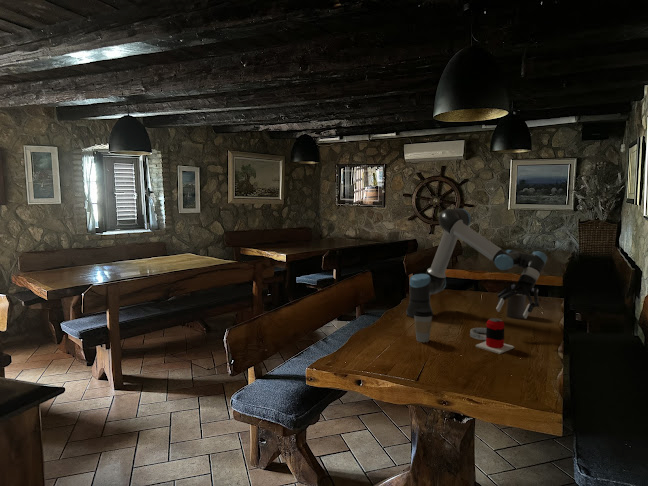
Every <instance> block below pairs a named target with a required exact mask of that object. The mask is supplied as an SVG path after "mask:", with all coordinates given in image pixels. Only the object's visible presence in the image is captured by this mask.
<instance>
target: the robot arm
mask: <svg viewBox="0 0 648 486" xmlns="http://www.w3.org/2000/svg"><path fill="white" fill-rule="evenodd" d="M471 221H472V218H471V214H470V213H469V212H468V210H467V209H464V208H459V207H457V208H456V207H455V208H447V209H444V210H442V211H441V212H440V213H439V215H438V224H439V226H440V227H441V228H442V230H443V233H442V235H441V239H440V242H439V244H438V247H437V250H436V252H435V255H434V258H433V260H432V263H431V266H430V267H429V268H427V270H426V272H425V273H418V274H417V273H415V274H414V275H411V276H410V277H409V300H408V301H409V302H408V305H407V308H406V311H405V312H406V314H407V315H408V316H407V315H406V316H407V317H410V318H414V315H413V312H414V310H415V309H417V308H427V309H430V310H431V311H432V313H433V314H434V311H433V309H432V305H431V295H435V294H438V293H440V292H442V291H443V290H445V288H446V286H447V280H446V278H447V274H446V271H447V267H448V265H449V262H450V260H451V258H452V255H453V251H454V249H455V247H456V244H457V241H458V239H460V240H462V241H463V242H464V243H466V244H467V245H469V246H470V247H471V248H473V249H474V250H475V251H477V252H479V253H480V254H482V255H483V256H485V257H486V258H487V259H489V261H492V262H493V263H494V265H495V268H497V269H499V270H501V271H507V270H510V269H512V268H516V267H518V268H522V269H523V271H522V272H521V275H520V276H519V278H518V280H517V283H516V284H515V283H513V282H510V283H509V285H508V286H506V287H505V288H503V290H501V291H500V292H498V294H496V296H497V297H498V301H497V306H496V308H495V309H496V311H497V312H498V313H500V312H501V309H502V308H503V305H505V304H504V303H505V302H506V301H505V300H507V298H509V297H511V296H513V295H516V294H520V295H521V294H522V295H526V298H527V300H528V301H529V303H528V304H527V305H526V307H525V312H524V314H523V316H524V318H523V319H527V318H528V315H530V313H532V311H533V310H534V309H535V307H537V308H539V307H540V303H539V292H540V291H539V288H538V287H535V285H536V283H537V281H538V279H539V277H540V275H541V273H542V272H543V269H544V267H545V266H546V263H547V261H548V256H547V254H545V253H544V252H542V251H539V250H534V251H533V252H532V253H531V254H529V253H525V252H521V251H516V250H512V249H507V250H503V249H502V248H501V247H499V246H498V245H496V244H495V243H493V242H492V241H490V240H489V239H487V238H486V237H484V236H482V234H480V233H478V232H477V231H475V230H474V229H472V228H471V227H469V226H470V224H471ZM515 291H516V292H515ZM530 293H533V298H534V301H533V299H532V297H531V294H530ZM414 319H415V318H414Z"/></svg>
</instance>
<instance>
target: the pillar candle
mask: <svg viewBox="0 0 648 486" xmlns="http://www.w3.org/2000/svg"><path fill="white" fill-rule="evenodd" d="M515 292H516V290H515ZM526 298H527V295H522V294H521V295H520V294H516V295H513V296H511V297H509V298H507V299H506V300H507V301H506V317H508V318H511V319H516V320H517V319H519V320H520V319H525V318H524V316H523V314H524V312H525V310H526V301H527V299H526Z"/></svg>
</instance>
